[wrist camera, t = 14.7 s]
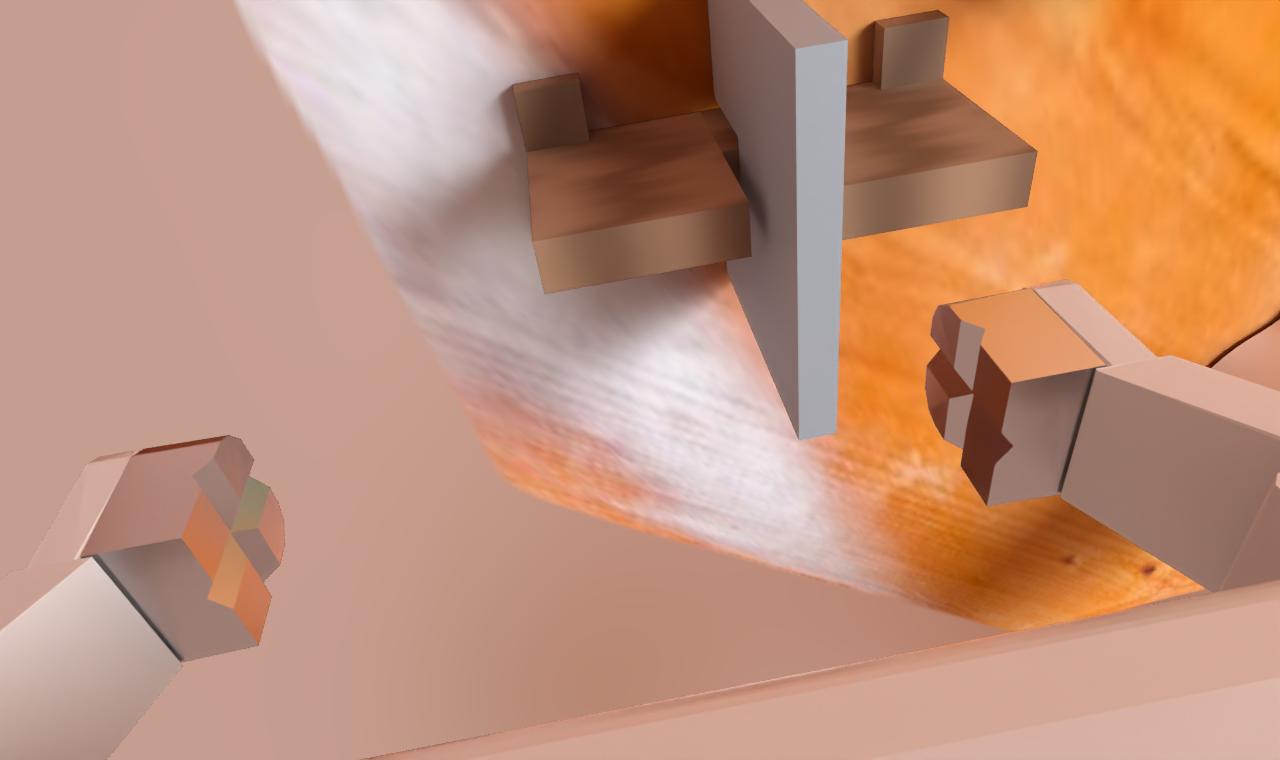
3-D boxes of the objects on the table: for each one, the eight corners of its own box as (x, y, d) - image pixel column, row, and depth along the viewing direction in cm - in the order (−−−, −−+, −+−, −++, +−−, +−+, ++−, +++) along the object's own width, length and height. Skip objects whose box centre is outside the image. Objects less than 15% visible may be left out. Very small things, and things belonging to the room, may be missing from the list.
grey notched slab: (755, 266, 46) (836, 433, 35) (726, 271, 45) (799, 440, 35) (740, -53, 36) (847, 39, 25) (704, -47, 36) (795, 49, 25)
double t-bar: (938, 10, 38) (1050, 79, 31) (923, 170, 43) (1016, 265, 35) (513, 84, 38) (516, 174, 30) (547, 237, 43) (557, 349, 35)
